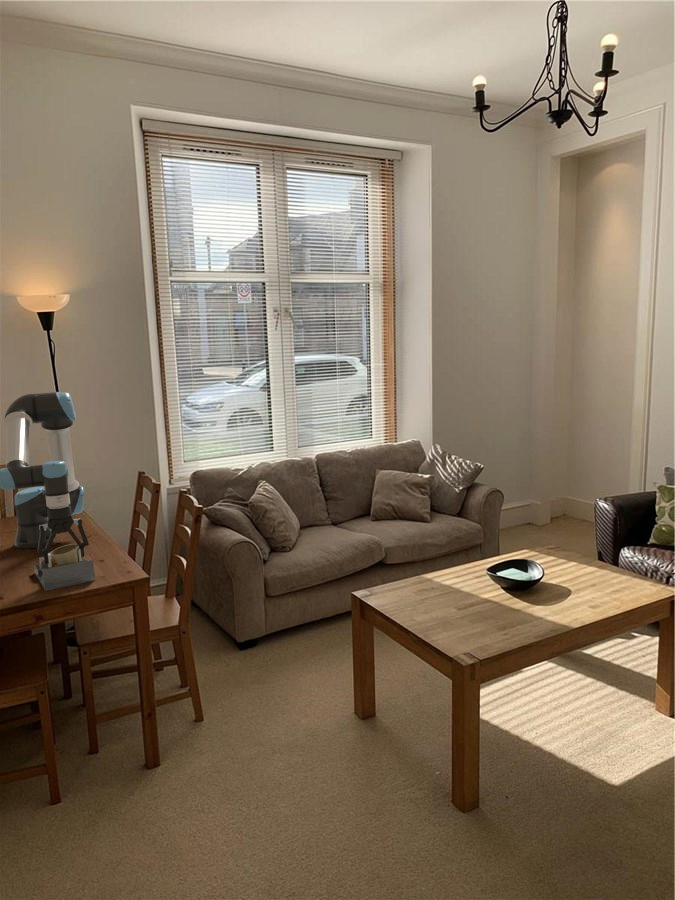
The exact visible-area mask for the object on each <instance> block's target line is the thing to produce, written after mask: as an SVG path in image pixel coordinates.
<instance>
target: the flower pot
mask: <svg viewBox="0 0 675 900" xmlns="http://www.w3.org/2000/svg"><path fill="white" fill-rule="evenodd" d="M77 548H79V546H78V545H77V543H70V544H65V545H62V546H60V547H57V548H55V549H54V550H52V551H50V552H49V554H50V555H51V556H52V558H53V559H54V560H55V562H56V564H57V566H58V565H64V564H69V563H74V562H79V559H78V553H77V551H78V549H77Z"/></svg>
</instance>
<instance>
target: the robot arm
mask: <svg viewBox="0 0 675 900" xmlns="http://www.w3.org/2000/svg"><path fill="white" fill-rule="evenodd" d="M75 421H77V415H76V411H75V406H74V402H73V399H72V396H71V393H68V392H66V391H65V392H59V391H56V392H43V393H42V392H41V393H27V394H23V395H21V396H20V397H17V399H15V400H14V401H13V402H12V403H11V404H10V405H9V406H8V408H7V409H6V412H5V414H4V426H5V427H6V448H5V449H6V451H5V452H6V453H5V467H4V468H2V467H1V468H0V489H1V490H18V489H22V490H19V491H17V492H16V493H15V494H14V506H15V512H16V513H15V514H16V523H17V529H16V535H15V538H14V547H15V548H17V549H21V550H22V549H23V550H24V549H25V550H28V549H36V548H37V549H36V550H37V553H38V555H39V556H41V555H42V556H43V557H44V562H45V564H48V567H52V563H51V555H50V550H51V547H52V546H53V544H54V542H55V538H56V536H57V535H60V534H62V533H63V534H65V533H68V534H69V535H70V536H71V538H72V540H73V541H74V542H75V544H77V545H78V547H77V549H78V551H77V553H78V559H79V561H82V558H84V557H85V550H84V549H85V547H86V546H89V545H90V544H89V541H88V538H87V536H86V533H85V530H84V527H83V520H82V519H81V518H80V517H79V518H73V516H74V515H79V514H81V513H83V511H84V498H85V497H84V495H85V494H84V492H85V491H84V486H82V485H80V482H79V481H78V480H76V477H75V467H74V459H73V457H74V456H73V450H72V441H71V431H70V429H71V427H73V425H74V422H75ZM33 424H40V425H41V428H42V429H43V430H44V431H46V439H47V445H48V446H47V447H48V455H49V460H50V461H46V462H43V463H42V464H37V465H30V429H31V427H32V426H33ZM74 524H75V526H77V528H78V531H79V534H80V537H81V540H82V542H81V540H79V538H78V537H77V535H76V534H75V533H74V531H73V529H71V527H72V526H73V525H74ZM81 557H82V558H81Z"/></svg>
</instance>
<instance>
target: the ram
mask: <svg viewBox="0 0 675 900" xmlns="http://www.w3.org/2000/svg"><path fill="white" fill-rule="evenodd" d="M38 560H39V567H40V568H41V570H42V569H43V568H48V564H45V562H44V556H41V557H39V558H38ZM51 563H52V567H53V566H57V564H56V562H55V560H54V559H53V558H52V556H51Z"/></svg>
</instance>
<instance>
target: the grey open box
mask: <svg viewBox="0 0 675 900" xmlns="http://www.w3.org/2000/svg"><path fill="white" fill-rule="evenodd" d="M81 558H82V561H79V562H74V563H69V564H64V565H58V566H53V567H48V568H43V569H42V570H41V568H40V564H39V562H37V563H34V564H33V566H34V568H33V569H34V574H35V576H36V577H37V580H39V583H40V585H41V586H42V588H43V590H44V592H48V591H52V590H56V589H57V590H58V589H62V588H66V587H72V586H76V585H81V584H84V583H89V582H90V583H91V582H94V581H96V578H95V568H94V567H95V566H94V560H93V559H92V558H91V559H84V557H81Z"/></svg>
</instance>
